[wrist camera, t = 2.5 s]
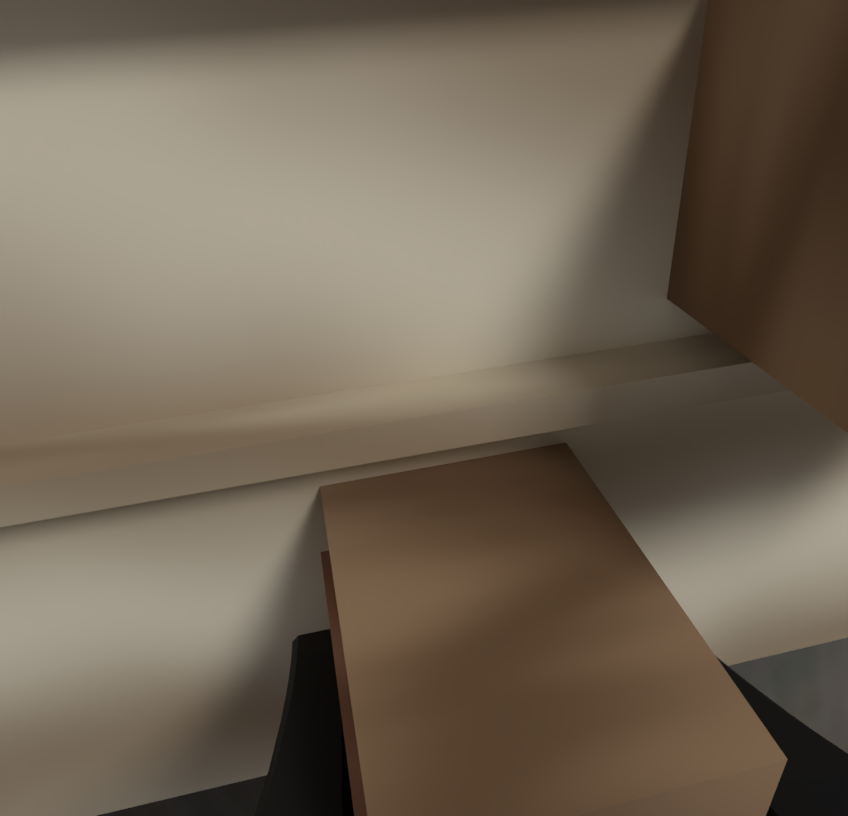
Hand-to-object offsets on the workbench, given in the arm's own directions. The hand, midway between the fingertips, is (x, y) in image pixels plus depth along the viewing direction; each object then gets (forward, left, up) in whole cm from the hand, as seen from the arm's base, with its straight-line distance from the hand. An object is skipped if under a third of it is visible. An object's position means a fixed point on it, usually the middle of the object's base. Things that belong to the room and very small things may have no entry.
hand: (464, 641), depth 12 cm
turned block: (0, 0, -1) cm, 1 cm away
